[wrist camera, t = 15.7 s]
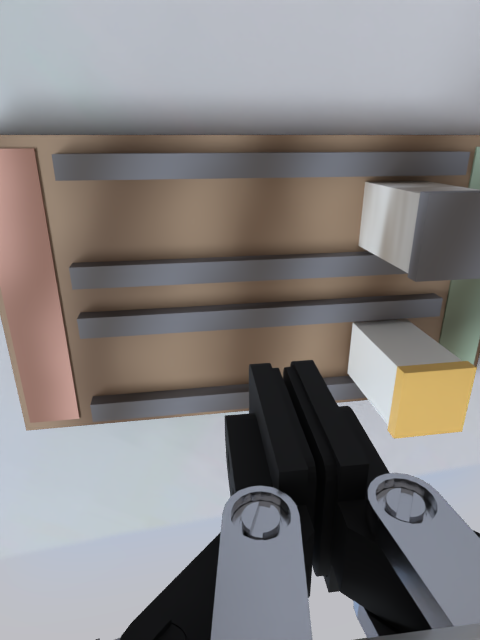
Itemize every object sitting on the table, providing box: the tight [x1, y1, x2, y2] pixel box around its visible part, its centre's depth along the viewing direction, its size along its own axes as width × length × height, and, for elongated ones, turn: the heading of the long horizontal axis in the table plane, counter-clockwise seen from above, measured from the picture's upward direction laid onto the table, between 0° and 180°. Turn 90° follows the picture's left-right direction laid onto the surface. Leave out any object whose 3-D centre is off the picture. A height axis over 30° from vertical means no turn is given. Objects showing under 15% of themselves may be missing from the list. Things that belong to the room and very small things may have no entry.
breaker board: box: [0, 135, 480, 430], centre depth 20 cm, size 25×14×8 cm, turn 90°
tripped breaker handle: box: [347, 319, 477, 438], centre depth 21 cm, size 3×3×6 cm
